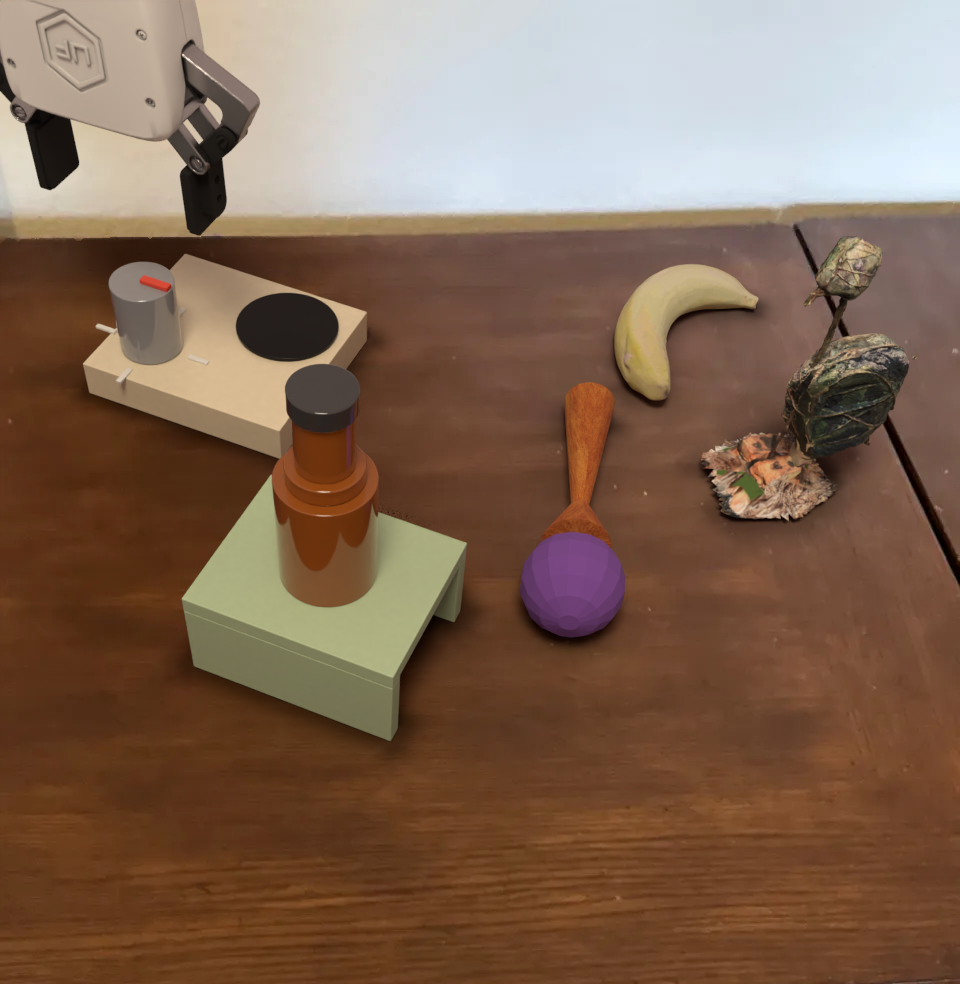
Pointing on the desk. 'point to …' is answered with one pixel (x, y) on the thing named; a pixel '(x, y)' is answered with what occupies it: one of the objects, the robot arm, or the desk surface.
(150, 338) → the hob knob
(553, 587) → the kendama
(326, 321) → the burner
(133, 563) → the desk surface
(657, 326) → the fruit
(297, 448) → the spice bottle
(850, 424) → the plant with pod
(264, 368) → the hob
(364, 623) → the shelf
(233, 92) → the robot arm
